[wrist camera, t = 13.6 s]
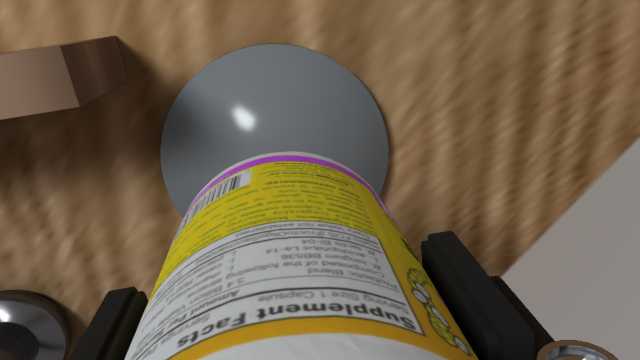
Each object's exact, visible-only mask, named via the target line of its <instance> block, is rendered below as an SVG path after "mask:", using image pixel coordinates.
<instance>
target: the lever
mask: <svg viewBox="0 0 640 360" xmlns="http://www.w3.org/2000/svg"><path fill="white" fill-rule="evenodd" d="M71 339H72V333H71V328H70V324H69V322H68V320H67V318H66V317H65V315H64V314H63V312H62V311H61V310H60V309H59V308H58V307H57V306H56V305H54V304H53V303H52V302H50V301H49V300H47V299H45V298H43V297H41V296H39V295H36V294H34V293H30V292H26V291H19V290H5V291H0V360H63V358H64V357H65V355H66V353H67V352H68V350H69V347H70V344H71Z"/></svg>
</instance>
